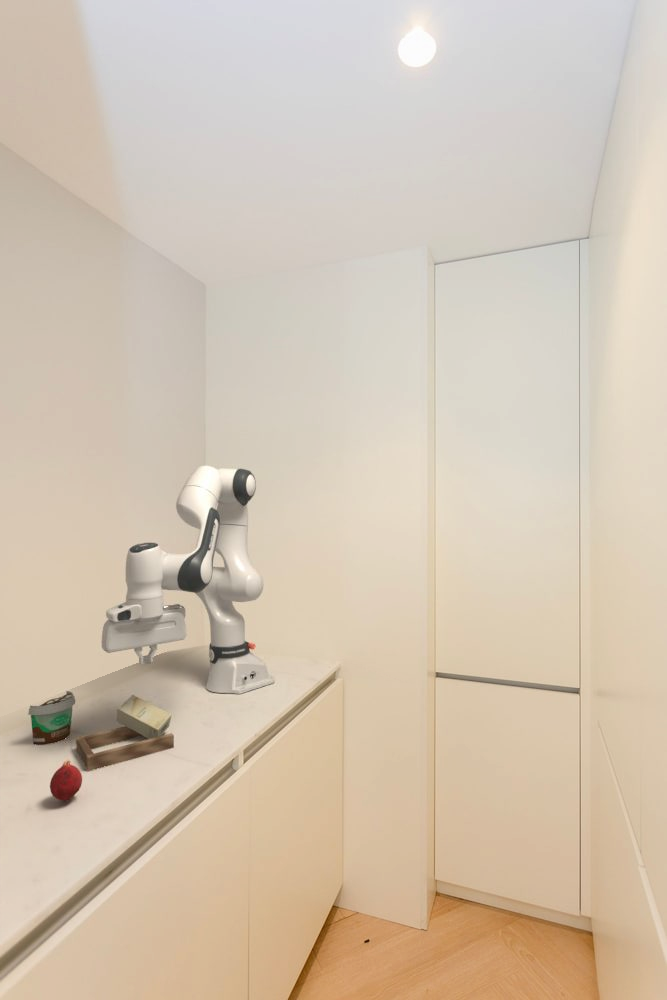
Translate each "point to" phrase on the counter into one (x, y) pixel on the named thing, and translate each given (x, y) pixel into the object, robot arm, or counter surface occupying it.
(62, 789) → the red pomegranate
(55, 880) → the counter surface
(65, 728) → the food container
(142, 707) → the skincare box
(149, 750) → the u rest
